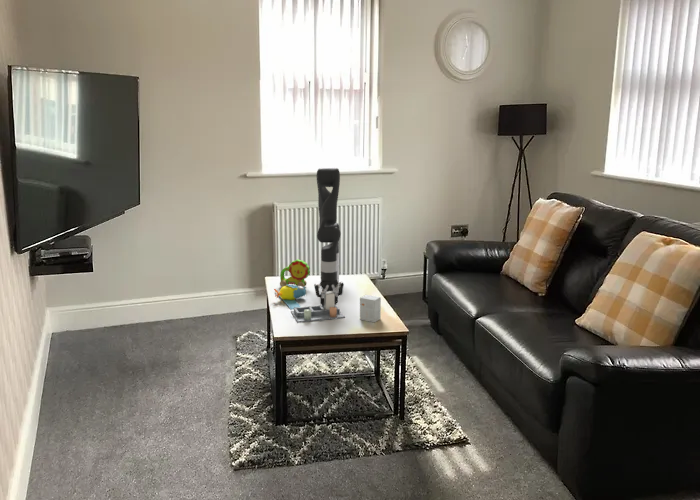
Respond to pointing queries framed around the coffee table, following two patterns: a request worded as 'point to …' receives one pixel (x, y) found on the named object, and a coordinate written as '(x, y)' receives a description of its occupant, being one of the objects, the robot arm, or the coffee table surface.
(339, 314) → the grey compartment tray
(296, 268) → the toy lion
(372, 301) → the small box
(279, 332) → the coffee table surface
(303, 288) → the blue yellow plastic figure
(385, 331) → the coffee table surface
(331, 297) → the plug
